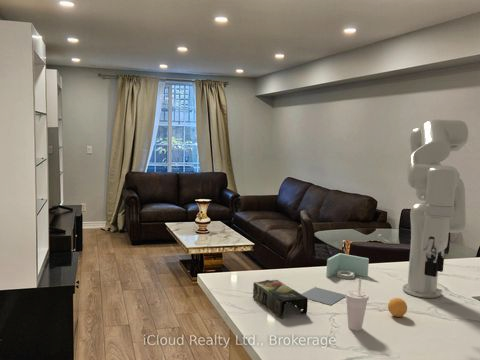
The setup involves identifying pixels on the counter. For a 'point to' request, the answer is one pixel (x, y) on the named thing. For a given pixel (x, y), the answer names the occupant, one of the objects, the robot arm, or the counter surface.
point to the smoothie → (356, 308)
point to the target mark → (323, 296)
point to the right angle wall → (347, 266)
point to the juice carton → (278, 296)
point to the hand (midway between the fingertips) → (433, 272)
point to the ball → (397, 307)
